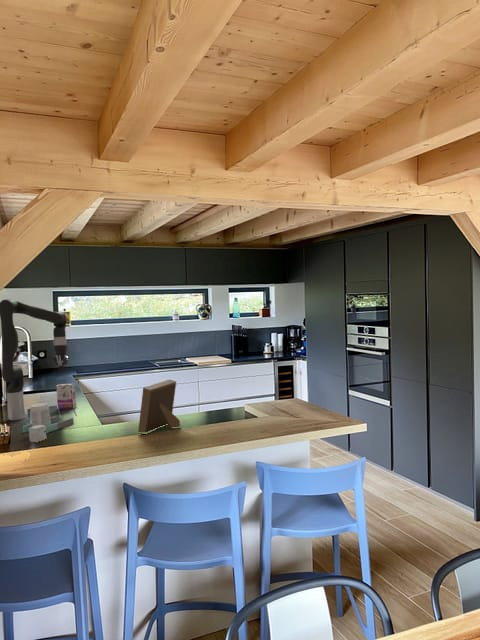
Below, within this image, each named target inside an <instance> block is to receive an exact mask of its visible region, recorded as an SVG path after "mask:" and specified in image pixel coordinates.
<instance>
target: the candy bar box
mask: <svg viewBox="0 0 480 640" xmlns="http://www.w3.org/2000/svg"><path fill="white" fill-rule="evenodd" d="M75 387H76V385H75V383H62V384H61V383H60V384H57V385H55V389H56V400H57V410H74V409H76V408H77V398H76V397H77V396H76V388H75Z"/></svg>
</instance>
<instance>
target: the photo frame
mask: <svg viewBox="0 0 480 640" xmlns="http://www.w3.org/2000/svg"><path fill="white" fill-rule="evenodd" d="M176 386H177V381H176V380H172V379H166V380H164V381H161V382H160V381H159V382H158V383H154V384H151V385H147V386H145V387H142V396H141V404H140V412H139V421H138V431H137V433H138V432H148V431H150V430H153V429H155V428H158V427H160V426H163V425H166V424H169V425H168V426H170V428H171V427H179V426H180V427H181V421H180V418H178V417H177V416H176V415H175V414H174V413H173V410H174V403H175V394H176Z"/></svg>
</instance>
